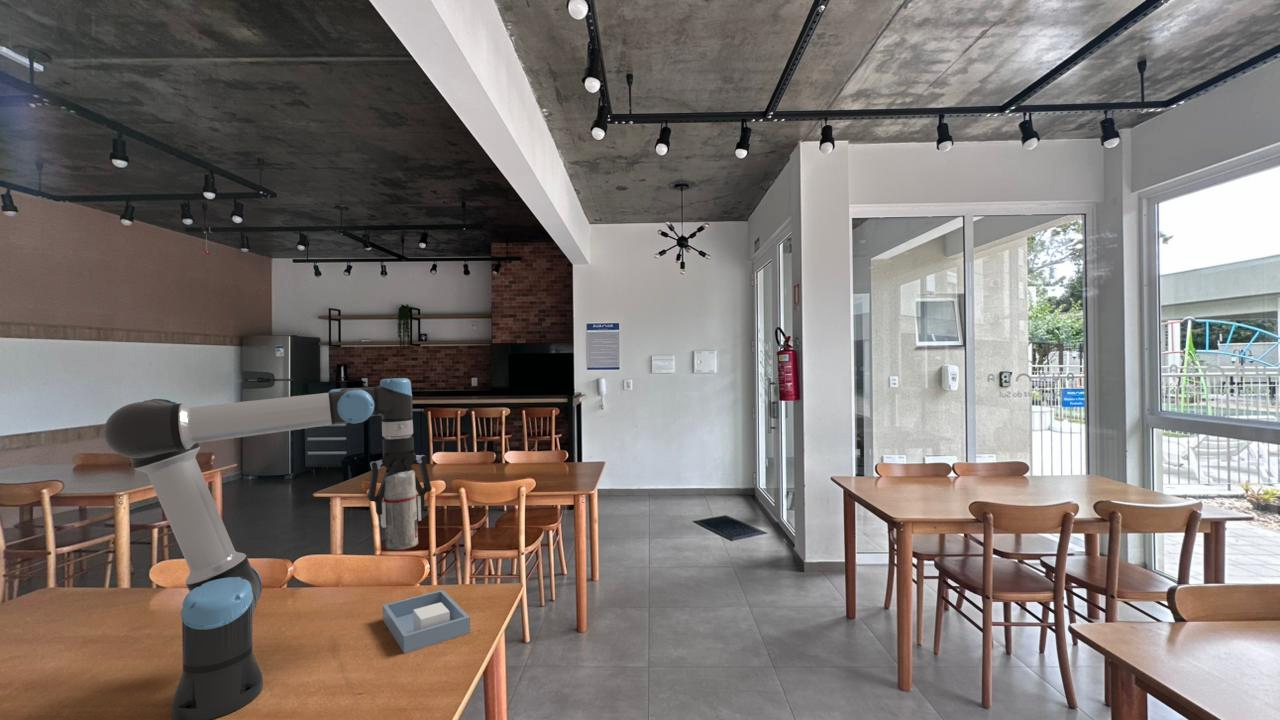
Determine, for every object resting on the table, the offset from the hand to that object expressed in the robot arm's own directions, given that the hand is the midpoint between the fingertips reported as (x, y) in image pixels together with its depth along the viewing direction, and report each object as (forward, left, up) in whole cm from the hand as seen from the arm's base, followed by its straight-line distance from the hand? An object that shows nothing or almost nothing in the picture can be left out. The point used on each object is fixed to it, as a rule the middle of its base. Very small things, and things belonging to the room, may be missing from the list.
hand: (401, 522), depth 145 cm
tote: (+5, -4, -28) cm, 29 cm away
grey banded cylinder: (0, 0, -6) cm, 6 cm away
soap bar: (+5, -10, -27) cm, 29 cm away
